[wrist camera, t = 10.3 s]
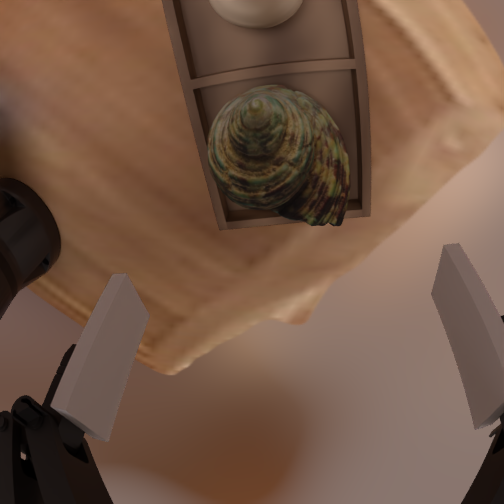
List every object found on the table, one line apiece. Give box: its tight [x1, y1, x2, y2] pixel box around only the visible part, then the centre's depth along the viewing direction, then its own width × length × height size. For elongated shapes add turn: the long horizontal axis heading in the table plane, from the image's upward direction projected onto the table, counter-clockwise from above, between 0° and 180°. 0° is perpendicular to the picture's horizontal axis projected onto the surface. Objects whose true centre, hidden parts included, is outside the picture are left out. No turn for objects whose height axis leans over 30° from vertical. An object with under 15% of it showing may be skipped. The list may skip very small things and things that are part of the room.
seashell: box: [207, 85, 351, 226], centre depth 22 cm, size 11×11×10 cm
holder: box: [162, 0, 371, 230], centre depth 22 cm, size 14×27×3 cm, turn 10°
